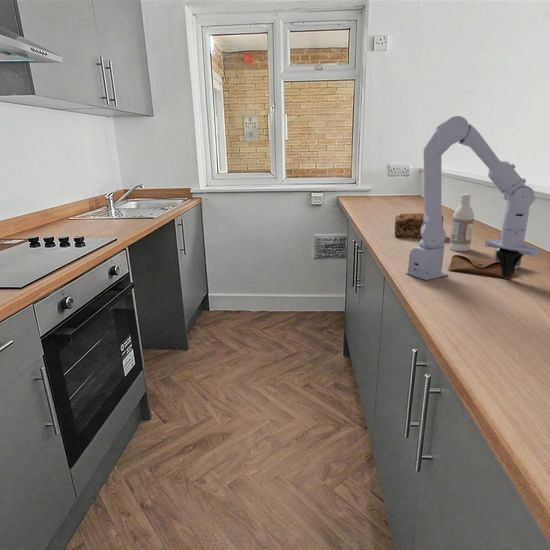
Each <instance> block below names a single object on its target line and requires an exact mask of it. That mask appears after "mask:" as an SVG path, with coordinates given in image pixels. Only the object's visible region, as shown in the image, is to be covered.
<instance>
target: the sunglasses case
mask: <svg viewBox="0 0 550 550" xmlns="http://www.w3.org/2000/svg"><path fill="white" fill-rule="evenodd" d="M515 269H516V268H515V267H514V269H513V271H512V273H511V276H508V277H505V276H502V269H501V264H500V261H495V260H494V259H488V258H479V257H470V256H464V255H460V254H454V255H452V256H451V261H450V264H449V267H448V269H447V272H453V273H462V274H468V273H469V274H471V275H476V276H482V275H483V277H484V276H485V277H489V276H490V277H491V278H496V277H497V278H496V279H502V280H512V278H513V275H514V273H515ZM490 277H489V278H490Z"/></svg>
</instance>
